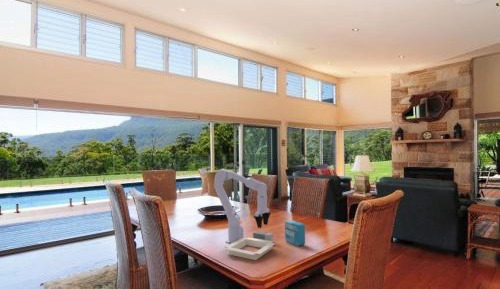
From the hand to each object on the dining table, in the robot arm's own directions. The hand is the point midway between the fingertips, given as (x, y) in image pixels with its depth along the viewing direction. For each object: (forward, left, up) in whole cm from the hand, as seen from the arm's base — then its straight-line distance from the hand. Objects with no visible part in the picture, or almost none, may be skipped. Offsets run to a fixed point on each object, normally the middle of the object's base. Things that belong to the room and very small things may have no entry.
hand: (262, 226), depth 171 cm
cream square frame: (+18, +2, -9) cm, 20 cm away
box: (0, 0, -9) cm, 9 cm away
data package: (-6, +18, -9) cm, 21 cm away
